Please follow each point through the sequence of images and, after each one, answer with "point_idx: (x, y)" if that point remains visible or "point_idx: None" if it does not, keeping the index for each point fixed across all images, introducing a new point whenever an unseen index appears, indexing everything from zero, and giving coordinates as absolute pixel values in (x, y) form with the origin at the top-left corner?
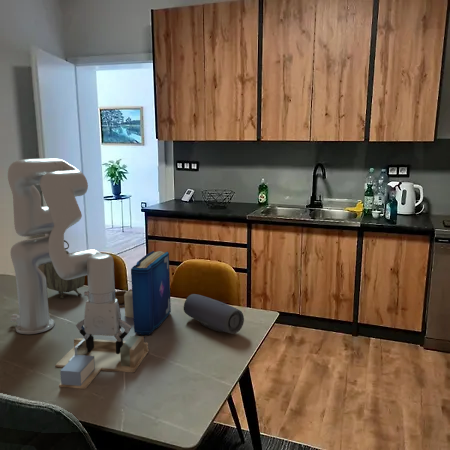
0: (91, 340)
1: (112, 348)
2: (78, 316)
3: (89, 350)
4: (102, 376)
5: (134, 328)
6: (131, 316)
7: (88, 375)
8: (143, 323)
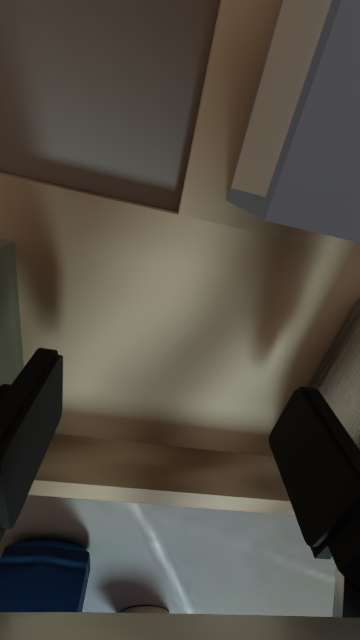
0: (318, 496)
1: (155, 448)
2: (326, 605)
3: (305, 396)
4: (138, 79)
5: (82, 577)
6: None
7: (278, 18)
8: None
